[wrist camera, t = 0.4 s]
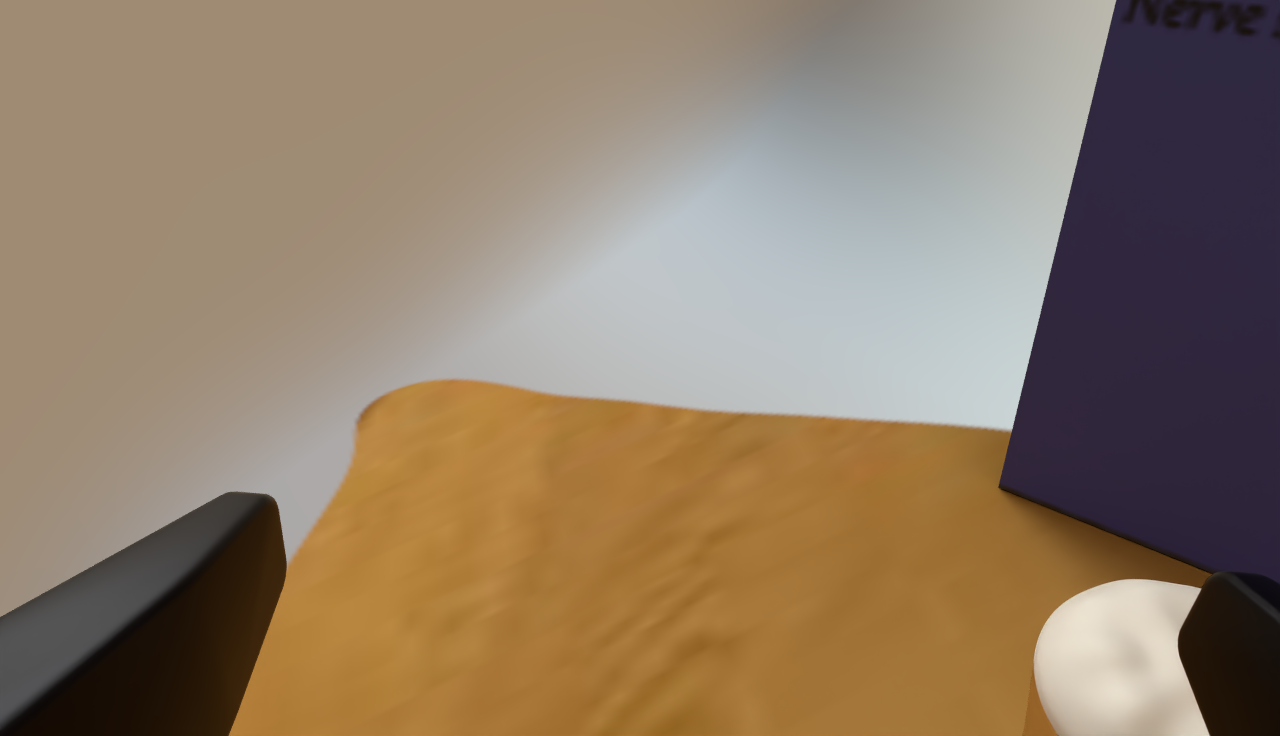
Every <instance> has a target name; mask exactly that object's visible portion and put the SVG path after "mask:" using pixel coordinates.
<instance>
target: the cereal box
mask: <svg viewBox="0 0 1280 736" xmlns="http://www.w3.org/2000/svg"><path fill="white" fill-rule="evenodd" d="M998 488H1001V489H1003V490H1006V491H1008V492H1011V493H1013V494H1016V495H1018V496H1021V497H1023V498H1026V499H1028V500H1031V501H1033V502H1036V503H1038V504H1041V505H1043V506H1046V507H1048V508H1051V509H1053V510H1056V511H1058V512H1061V513H1063V514H1066V515H1068V516H1071V517H1073V518H1076V519H1078V520H1081V521H1083V522H1086V523H1088V524H1091V525H1093V526H1096V527H1098V528H1101V529H1103V530H1106V531H1108V532H1111V533H1113V534H1116V535H1118V536H1121V537H1123V538H1126V539H1128V540H1131V541H1133V542H1136V543H1138V544H1141V545H1143V546H1146V547H1148V548H1151V549H1153V550H1156V551H1158V552H1161V553H1163V554H1166V555H1168V556H1171V557H1173V558H1176V559H1178V560H1181V561H1183V562H1185V563H1188V564H1190V565H1193V566H1195V567H1198V568H1200V569H1203V570H1205V571H1208V572H1210V573H1213V574H1214V573H1216V572H1220V571H1232V572H1244V573H1255V574H1260V575H1264V576H1266V577H1268V578H1271V579H1272V580H1274V581H1276V582H1278V583H1279V584H1280V0H1116V4H1115V8H1114V12H1113V16H1112V20H1111V25H1110V29H1109V33H1108V38H1107V41H1106V46H1105V49H1104V54H1103V58H1102V62H1101V66H1100V70H1099V74H1098V78H1097V82H1096V87H1095V91H1094V95H1093V99H1092V104H1091V107H1090V112H1089V115H1088V119H1087V124H1086V128H1085V132H1084V136H1083V140H1082V144H1081V149H1080V153H1079V157H1078V161H1077V165H1076V169H1075V173H1074V178H1073V182H1072V186H1071V190H1070V194H1069V198H1068V202H1067V206H1066V210H1065V214H1064V219H1063V223H1062V227H1061V231H1060V235H1059V239H1058V243H1057V247H1056V252H1055V256H1054V260H1053V264H1052V268H1051V273H1050V276H1049V281H1048V285H1047V289H1046V293H1045V297H1044V301H1043V305H1042V309H1041V314H1040V318H1039V322H1038V326H1037V330H1036V334H1035V338H1034V342H1033V347H1032V351H1031V355H1030V359H1029V364H1028V367H1027V372H1026V376H1025V380H1024V384H1023V388H1022V392H1021V396H1020V400H1019V404H1018V409H1017V413H1016V417H1015V421H1014V425H1013V429H1012V433H1011V437H1010V442H1009V446H1008V450H1007V454H1006V458H1005V462H1004V466H1003V470H1002V475H1001V479H1000V483H999V487H998Z"/></svg>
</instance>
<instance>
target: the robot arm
mask: <svg viewBox="0 0 1280 736" xmlns="http://www.w3.org/2000/svg"><path fill="white" fill-rule="evenodd" d="M286 568H287V562H286V554H285V548H284V542H283V535H282V528H281V522H280V515H279V509H278V505H277V503H276V501H275V499H274V498H273V497H271V496H269V495H267V494H259V493H246V492H228V493H225V494H223V495H221V496H219V497H217V498H215V499H213V500H212V501H210V502H208V503H206V504H204V505H203V506H201V507H199V508H197V509H195V510H193V511H192V512H190V513H188V514H186V515H184V516H183V517H181V518H179V519H177V520H175V521H174V522H172V523H170V524H168V525H166V526H165V527H163V528H161V529H159V530H157V531H155V532H154V533H152V534H150V535H148V536H146V537H145V538H143V539H141V540H139V541H137V542H136V543H134V544H132V545H130V546H128V547H126V548H125V549H123V550H121V551H119V552H117V553H116V554H114V555H112V556H110V557H108V558H107V559H105V560H103V561H101V562H99V563H97V564H96V565H94V566H92V567H90V568H89V569H87V570H85V571H83V572H81V573H79V574H78V575H76V576H74V577H72V578H70V579H69V580H67V581H65V582H63V583H61V584H60V585H58V586H56V587H54V588H52V589H50V590H49V591H47V592H45V593H43V594H41V595H40V596H38V597H36V598H34V599H32V600H30V601H29V602H27V603H25V604H23V605H21V606H20V607H18V608H16V609H14V610H12V611H11V612H9V613H7V614H5V615H3V616H1V617H0V736H229V733H230V731H231V728H232V726H233V723H234V721H235V718H236V715H237V713H238V710H239V708H240V705H241V702H242V699H243V697H244V694H245V691H246V688H247V686H248V683H249V680H250V677H251V674H252V672H253V669H254V666H255V663H256V661H257V658H258V655H259V652H260V650H261V647H262V644H263V641H264V639H265V636H266V633H267V630H268V628H269V625H270V622H271V619H272V616H273V614H274V611H275V608H276V605H277V603H278V600H279V597H280V594H281V592H282V589H283V586H284V582H285V577H286ZM1178 652H1179V657H1180V660H1181V663H1182V665H1183V668H1184V671H1185V673H1186V676H1187V678H1188V681H1189V684H1190V686H1191V689H1192V691H1193V694H1194V697H1195V699H1196V702H1197V704H1198V707H1199V709H1200V712H1201V715H1202V717H1203V720H1204V722H1205V725H1206V728H1207V730H1208V733H1209V735H1210V736H1280V584H1279V583H1278V582H1276V581H1274V580H1272V579H1271V578H1268V577H1266V576H1264V575H1260V574H1255V573H1244V572H1232V571H1220V572H1216V573H1214V574H1213V575H1211V576H1210V577H1209V578H1208V579H1207V580H1206V582H1205V583H1204V585H1203V587H1202V589H1201V591H1200V593H1199V594H1198V596H1197V598H1196V600H1195V602H1194V604H1193V606H1192V608H1191V610H1190V611H1189V613H1188V615H1187V617H1186V619H1185V621H1184V623H1183V625H1182V627H1181V629H1180V631H1179V635H1178Z"/></svg>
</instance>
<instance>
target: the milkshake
mask: <svg viewBox="0 0 1280 736" xmlns="http://www.w3.org/2000/svg"><path fill="white" fill-rule="evenodd" d="M1200 591H1201V589H1200V588H1197V587H1192V586H1187V585H1181V584H1174V583H1168V582H1162V581H1155V580H1145V579H1126V580H1118V581H1113V582H1109V583H1105V584H1102V585H1099V586H1096V587H1093V588H1091V589H1088V590H1086V591H1083V592H1081V593H1079V594H1077V595H1075V596H1074V597H1072V598H1070V599H1069V600H1067V601H1066V602H1064V603H1063V604H1062V605H1061V606H1059V607H1058V608H1057V609H1056V610H1055V611H1054V612H1053V613H1052V615H1051V616H1050V617H1049V619H1048V620H1047V622H1046V623H1045V625H1044V627H1043V629H1042V631H1041V633H1040V636H1039V638H1038V641H1037V644H1036V648H1035V654H1034V663H1033V670H1032V677H1031V683H1030V690H1029V697H1028V704H1027V711H1026V718H1025V725H1024V731H1023V735H1022V736H1210V735H1209V733H1208V730H1207V728H1206V725H1205V722H1204V720H1203V717H1202V715H1201V712H1200V709H1199V707H1198V704H1197V702H1196V699H1195V697H1194V694H1193V691H1192V689H1191V686H1190V684H1189V681H1188V678H1187V676H1186V673H1185V671H1184V668H1183V665H1182V663H1181V660H1180V657H1179V652H1178V635H1179V631H1180V629H1181V627H1182V625H1183V623H1184V621H1185V619H1186V617H1187V615H1188V613H1189V611H1190V610H1191V608H1192V606H1193V604H1194V602H1195V600H1196V598H1197V596H1198V594H1199V593H1200Z"/></svg>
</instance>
